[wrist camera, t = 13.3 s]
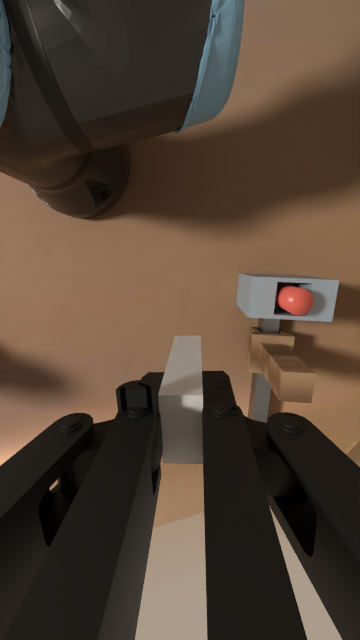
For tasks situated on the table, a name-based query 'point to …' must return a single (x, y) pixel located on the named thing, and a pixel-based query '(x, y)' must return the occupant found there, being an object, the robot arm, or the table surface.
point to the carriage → (280, 365)
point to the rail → (261, 380)
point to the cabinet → (261, 293)
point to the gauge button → (293, 299)
